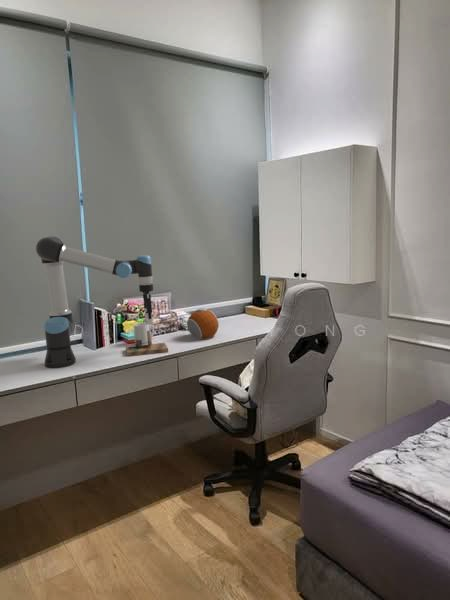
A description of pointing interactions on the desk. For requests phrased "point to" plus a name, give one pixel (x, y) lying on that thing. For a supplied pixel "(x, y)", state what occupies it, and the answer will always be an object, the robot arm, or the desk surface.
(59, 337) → the robot arm
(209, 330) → the orange ball
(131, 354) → the wooden board
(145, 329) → the mug
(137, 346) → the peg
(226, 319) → the desk surface
